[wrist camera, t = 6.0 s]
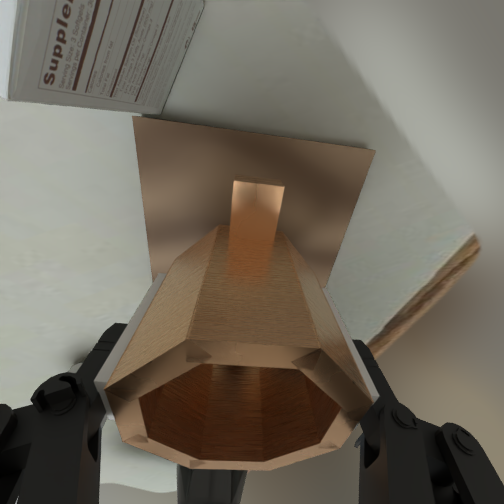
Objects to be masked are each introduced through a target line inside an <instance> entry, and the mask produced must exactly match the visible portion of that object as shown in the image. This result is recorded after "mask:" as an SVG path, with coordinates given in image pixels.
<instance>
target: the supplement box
mask: <svg viewBox="0 0 504 504" xmlns="http://www.w3.org/2000/svg"><path fill="white" fill-rule="evenodd" d="M203 7H204V3H203V0H0V98H2V99H4V100H7V101H19V102H30V103H41V104H48V105H60V106H73V107H82V108H92V109H101V110H112V111H123V112H134V113H145V114H157V115H160V114H161V112H162V109H163V106H164V104H165V102H166V99H167V97H168V94H169V92H170V89H171V87H172V84H173V82H174V79H175V77H176V74H177V72H178V70H179V67H180V65H181V62H182V60H183V57H184V55H185V52H186V50H187V48H188V45H189V43H190V40H191V38H192V35H193V33H194V30H195V27H196V25H197V23H198V20H199V18H200V15H201V13H202V10H203Z"/></svg>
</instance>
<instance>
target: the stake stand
mask: <svg viewBox="0 0 504 504" xmlns="http://www.w3.org/2000/svg"><path fill="white" fill-rule="evenodd" d="M132 118H133V126H134V134H135V142H136V151H137V159H138V167H139V175H140V183H141V191H142V199H143V207H144V215H145V223H146V231H147V239H148V247H149V255H150V263H151V272H152V280H153V282H154V280H155V279H156V277H157V275H158V274H159V273H164V274H167V273H168V271H169V269H170V267H171V265H172V264H173V262H174V260H175V258H177V257H178V256H179V255H181V254H182V253H183V252H185V251H186V250H187V249H189V248H190V247H191V246H192V245H194V244H195V243H196V242H198V241H199V240H200V239H201V238H203V237H204V236H205V235H207V234H208V233H209V232H211V231H212V230H213V229H214V228H216V227H217V226H218V225H219V224H220V225H229V226H230V219H231V207H232V195H233V183H234V177H235V175H243V176H251V177H259V178H267V179H275V180H281V182H282V184H283V185H284V192H283V197H282V203H281V208H280V213H279V218H278V223H277V228H276V231H283V233H284V234H285V236H286V237H287V238H288V239H289V241H290V242H291V243H292V245H293V246H294V247H295V248H296V250H297V251H298V252H299V254H300V255H301V256H302V257H303V259H304V260H305V261H306V263H307V264H308V265H309V266H310V268H311V269H312V270H313V271H314V273H315V275H316V277H317V279H318V282H319V284H320V286H321V288H325V286H326V284H327V281H328V278H329V276H330V273H331V270H332V267H333V265H334V262H335V259H336V257H337V254H338V251H339V249H340V246H341V243H342V240H343V238H344V235H345V232H346V230H347V227H348V224H349V222H350V219H351V216H352V214H353V211H354V208H355V205H356V203H357V200H358V197H359V195H360V192H361V189H362V187H363V184H364V181H365V178H366V176H367V173H368V170H369V168H370V165H371V162H372V160H373V157H374V154H375V150H370V149H365V148H358V147H351V146H344V145H337V144H330V143H323V142H316V141H309V140H302V139H295V138H288V137H281V136H274V135H267V134H260V133H253V132H246V131H239V130H232V129H225V128H218V127H211V126H204V125H196V124H189V123H182V122H175V121H168V120H161V119H154V118H147V117H140V116H132Z"/></svg>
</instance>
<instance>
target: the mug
mask: <svg viewBox="0 0 504 504" xmlns="http://www.w3.org/2000/svg"><path fill="white" fill-rule="evenodd" d="M283 192H284V185H283V184H282V182H281V180H275V179H267V178H259V177H251V176H243V175H235V177H234V183H233V195H232V207H231V219H230V226H229V225H220V224H219V225H218V226H217V227H216V228H214V229H213V230H212V231H211V232H209V233H208V234H207V235H205V236H204V237H203V238H201V239H200V240H199V241H198V242H196V243H195V244H194V245H192V246H191V247H190V248H189V249H187V250H186V251H185V252H183V253H182V254H181V255H179V256H178V257H177V258H175V260H174V262H173V264H172V265H171V267H170V269H169V271H168V273H167V274H166V276H165V278H164V280H163V282H162V284H161V285H160V287H159V289H158V291H157V293H156V294H155V296H154V298H153V300H152V302H151V304H150V305H149V307H148V309H147V311H146V313H145V314H144V316H143V318H142V320H141V322H140V324H139V325H138V327H137V329H136V331H135V333H134V335H133V336H132V338H131V340H130V342H129V344H128V345H127V347H126V349H125V351H124V353H123V355H122V356H121V358H120V360H119V362H118V364H117V365H116V367H115V369H114V371H113V373H112V375H111V376H110V378H109V380H108V382H107V384H106V385H105V387H104V389H103V390H104V391H105V394H106V396H107V399H108V402H109V405H110V407H111V410H112V413H113V416H114V418H115V421H116V424H117V427H118V430H119V432H120V435H121V438H122V442H125V443H127V444H130V445H132V446H135V447H137V448H140V449H142V450H145V451H147V452H150V453H152V454H155V455H157V456H160V457H163V458H165V459H168V460H170V461H173V462H175V463H178V464H180V465H183V466H185V467H188V468H190V469H225V470H268V471H270V470H272V469H276V468H279V467H282V466H285V465H288V464H291V463H295V462H298V461H301V460H304V459H308V458H311V457H314V456H317V455H321V454H324V453H327V452H330V451H333V450H336V449H340V447H341V446H342V444H343V443H344V442H345V440H346V439H347V438H348V436H349V435H350V434H351V432H352V431H353V430H354V428H355V427H356V426H357V424H358V423H359V422H360V420H361V419H362V418H363V416H364V415H365V414H366V412H367V411H368V409H369V408H370V407H371V405H372V404H373V403H374V401H373V399H372V397H371V395H370V392H369V390H368V388H367V386H366V384H365V382H364V379H363V377H362V375H361V373H360V371H359V369H358V366H357V364H356V362H355V360H354V358H353V355H352V353H351V351H350V349H349V347H348V345H347V342H346V340H345V338H344V336H343V334H342V332H341V329H340V327H339V325H338V323H337V321H336V319H335V316H334V314H333V312H332V310H331V308H330V306H329V303H328V301H327V299H326V297H325V295H324V292H323V290H322V288H321V286H320V284H319V282H318V279H317V277H316V275H315V273H314V271H313V270H312V269H311V268H310V266H309V265H308V264H307V263H306V261H305V260H304V259H303V257H302V256H301V255H300V254H299V252H298V251H297V250H296V248H295V247H294V246H293V245H292V243H291V242H290V241H289V239H288V238H287V237H286V236H285V234H284V233H283V231H276V228H277V223H278V218H279V213H280V208H281V203H282V197H283Z"/></svg>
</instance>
